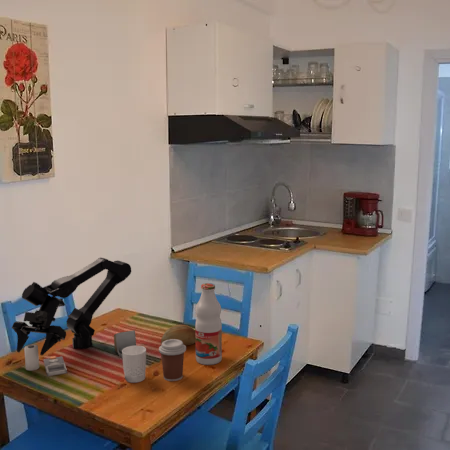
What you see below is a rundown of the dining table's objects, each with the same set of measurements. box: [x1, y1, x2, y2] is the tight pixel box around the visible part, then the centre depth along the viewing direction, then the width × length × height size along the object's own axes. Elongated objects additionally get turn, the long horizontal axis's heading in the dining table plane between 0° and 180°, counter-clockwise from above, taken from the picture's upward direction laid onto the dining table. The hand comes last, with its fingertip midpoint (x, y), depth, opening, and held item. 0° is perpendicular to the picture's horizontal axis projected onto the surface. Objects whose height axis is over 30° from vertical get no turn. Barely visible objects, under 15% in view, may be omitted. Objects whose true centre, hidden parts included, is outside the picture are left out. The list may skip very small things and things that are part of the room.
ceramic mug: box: [113, 329, 137, 358], centre depth 201 cm, size 11×8×8 cm
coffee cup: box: [158, 339, 187, 382], centre depth 181 cm, size 9×9×12 cm
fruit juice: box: [194, 282, 223, 366], centre depth 193 cm, size 9×9×28 cm
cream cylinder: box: [23, 344, 40, 372], centre depth 185 cm, size 4×4×9 cm
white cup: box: [121, 345, 147, 384], centre depth 180 cm, size 8×8×10 cm
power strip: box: [43, 355, 68, 377], centre depth 187 cm, size 15×6×2 cm, turn 23°
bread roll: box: [160, 324, 196, 346], centre depth 208 cm, size 10×15×8 cm, turn 117°
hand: (29, 353), depth 184 cm, fingers open, 9 cm apart
